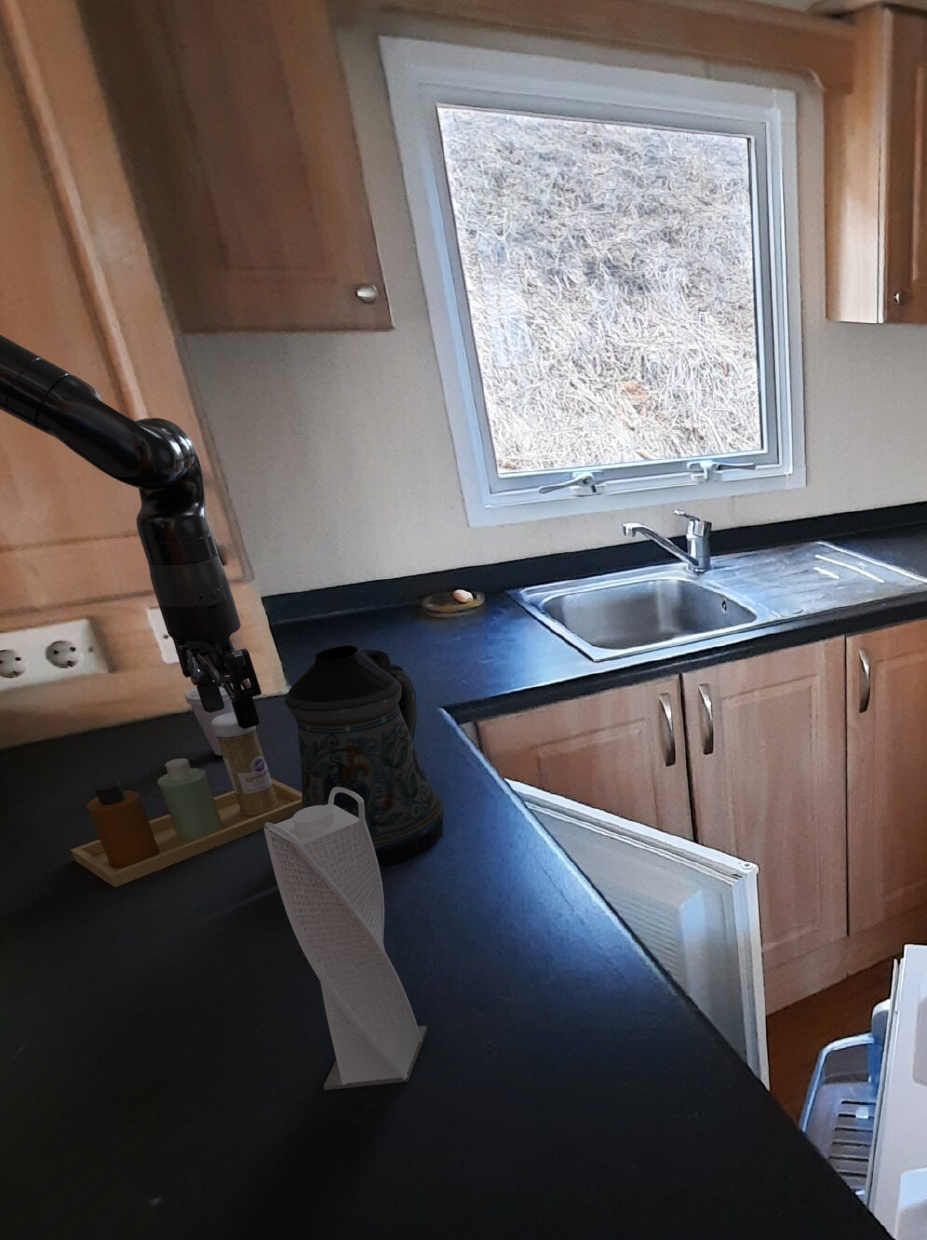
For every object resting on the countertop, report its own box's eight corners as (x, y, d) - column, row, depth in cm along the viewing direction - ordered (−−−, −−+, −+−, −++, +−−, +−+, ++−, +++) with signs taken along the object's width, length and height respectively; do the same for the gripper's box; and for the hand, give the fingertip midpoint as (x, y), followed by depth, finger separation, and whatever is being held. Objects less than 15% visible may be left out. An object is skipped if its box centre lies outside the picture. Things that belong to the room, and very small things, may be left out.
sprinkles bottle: (268, 817, 129) (239, 724, 123) (233, 817, 129) (202, 724, 123) (286, 800, 133) (259, 710, 127) (252, 801, 133) (223, 710, 127)
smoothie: (196, 751, 147) (166, 664, 141) (241, 737, 152) (214, 652, 146) (216, 763, 144) (186, 674, 138) (261, 748, 149) (235, 661, 143)
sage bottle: (189, 846, 122) (163, 774, 118) (169, 834, 124) (144, 764, 120) (231, 829, 126) (208, 760, 121) (211, 819, 128) (188, 750, 124)
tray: (116, 891, 114) (110, 876, 113) (76, 864, 119) (70, 849, 118) (315, 811, 132) (311, 797, 131) (273, 790, 137) (269, 777, 136)
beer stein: (296, 884, 116) (236, 688, 105) (317, 810, 132) (266, 633, 121) (447, 859, 121) (405, 670, 110) (449, 791, 138) (413, 620, 126)
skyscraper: (443, 1027, 94) (379, 768, 82) (421, 1088, 87) (348, 815, 74) (349, 1036, 93) (270, 774, 80) (320, 1099, 86) (227, 823, 73)
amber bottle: (121, 872, 116) (91, 799, 112) (102, 860, 119) (72, 787, 114) (167, 854, 120) (140, 782, 116) (148, 843, 123) (121, 772, 118)
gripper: (131, 592, 118) (172, 715, 125) (190, 613, 111) (230, 742, 119) (198, 578, 124) (234, 697, 131) (258, 598, 117) (292, 722, 124)
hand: (232, 718), depth 125 cm, fingers open, 8 cm apart
